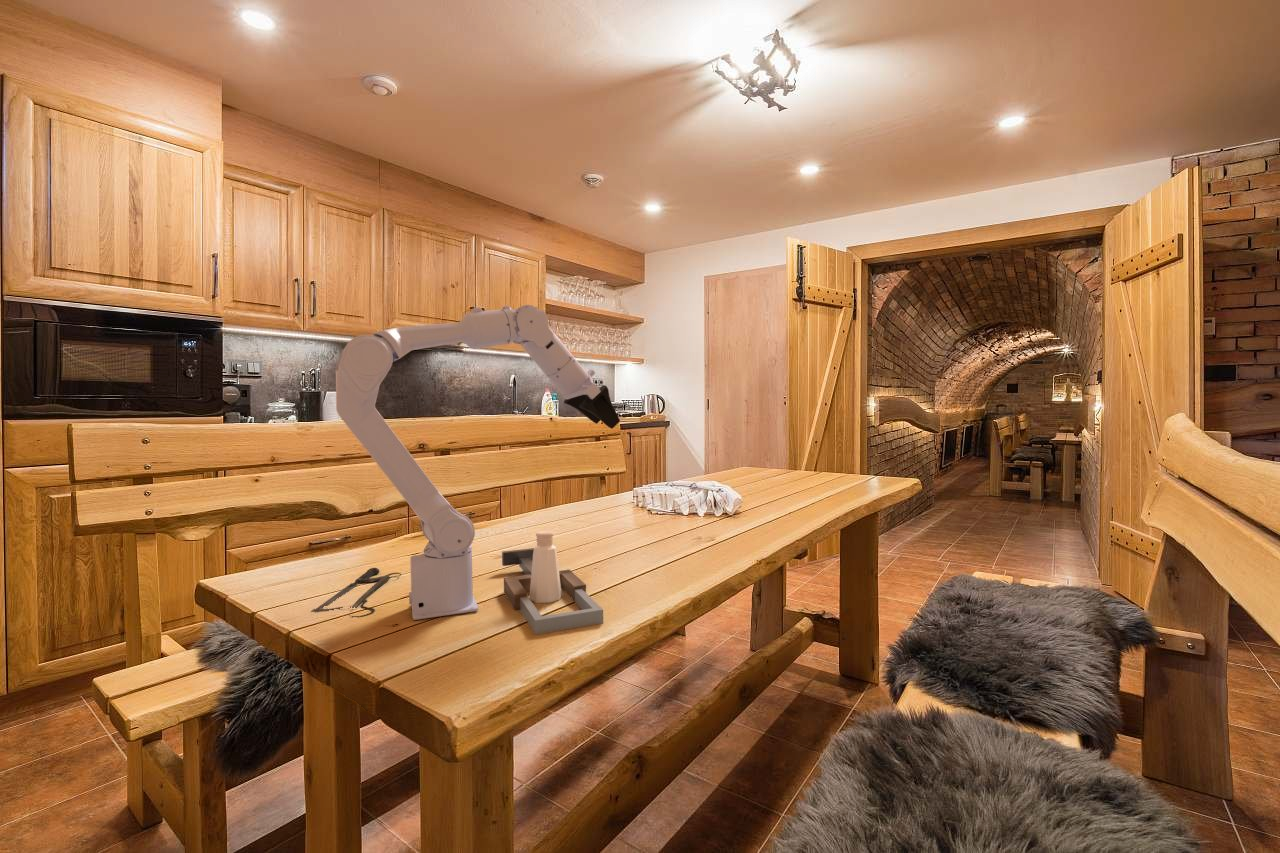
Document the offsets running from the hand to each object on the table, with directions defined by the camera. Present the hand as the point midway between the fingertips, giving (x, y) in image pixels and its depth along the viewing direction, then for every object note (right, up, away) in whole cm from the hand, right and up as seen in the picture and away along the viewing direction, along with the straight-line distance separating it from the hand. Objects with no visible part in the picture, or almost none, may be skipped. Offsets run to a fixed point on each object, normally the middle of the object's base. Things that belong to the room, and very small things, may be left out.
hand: (607, 422), depth 104 cm
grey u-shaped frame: (-6, -29, -18) cm, 35 cm away
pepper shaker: (-10, -29, -9) cm, 32 cm away
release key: (-14, -28, +1) cm, 31 cm away
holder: (-10, -29, -9) cm, 32 cm away
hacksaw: (-41, -30, -5) cm, 51 cm away
